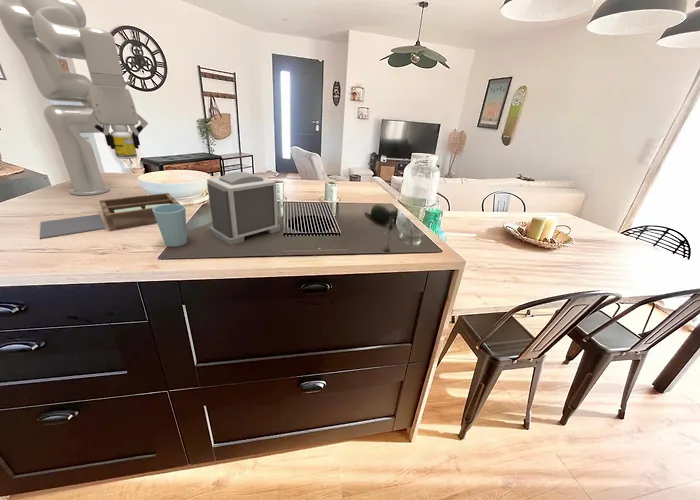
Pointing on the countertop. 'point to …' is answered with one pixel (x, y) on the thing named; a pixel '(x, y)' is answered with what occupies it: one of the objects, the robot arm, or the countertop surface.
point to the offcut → (127, 209)
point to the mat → (70, 226)
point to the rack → (135, 216)
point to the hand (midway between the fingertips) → (124, 147)
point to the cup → (172, 223)
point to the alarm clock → (242, 206)
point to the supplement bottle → (123, 142)
